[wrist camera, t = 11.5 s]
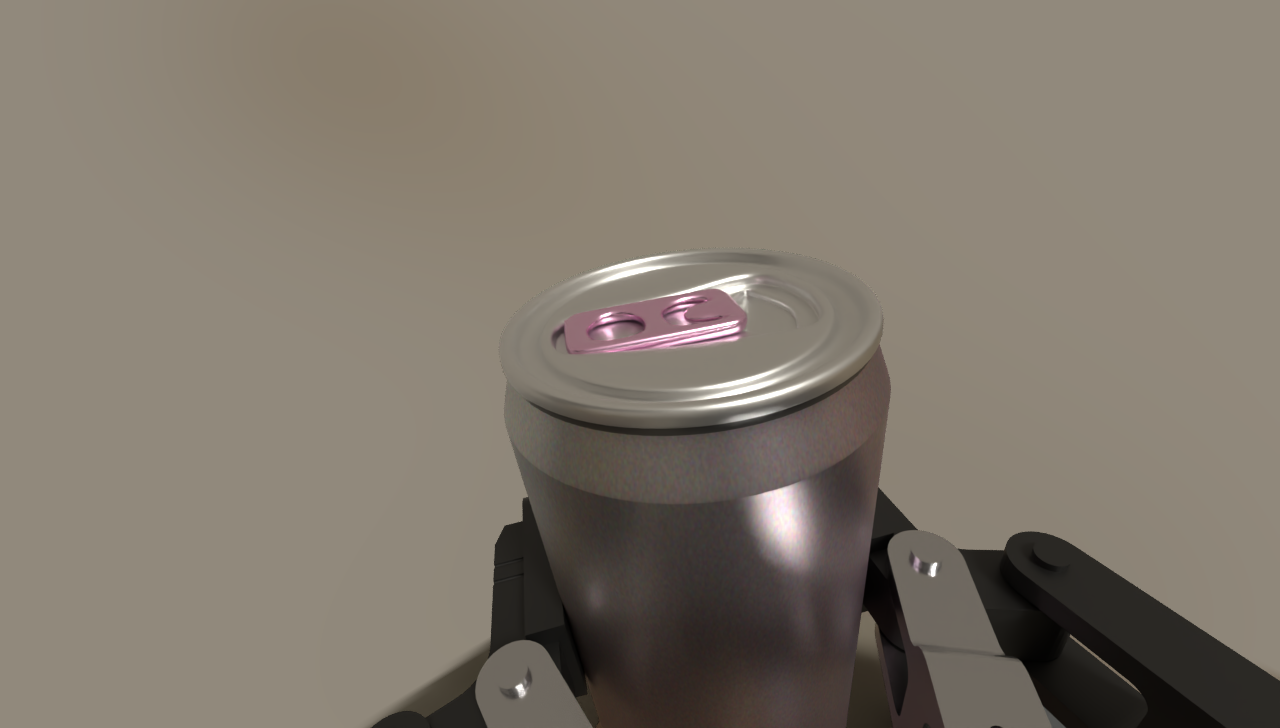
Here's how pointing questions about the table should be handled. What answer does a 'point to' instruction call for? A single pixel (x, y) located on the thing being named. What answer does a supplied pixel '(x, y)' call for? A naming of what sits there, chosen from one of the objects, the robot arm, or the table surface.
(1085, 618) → the robot arm
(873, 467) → the beverage can
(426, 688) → the table surface
